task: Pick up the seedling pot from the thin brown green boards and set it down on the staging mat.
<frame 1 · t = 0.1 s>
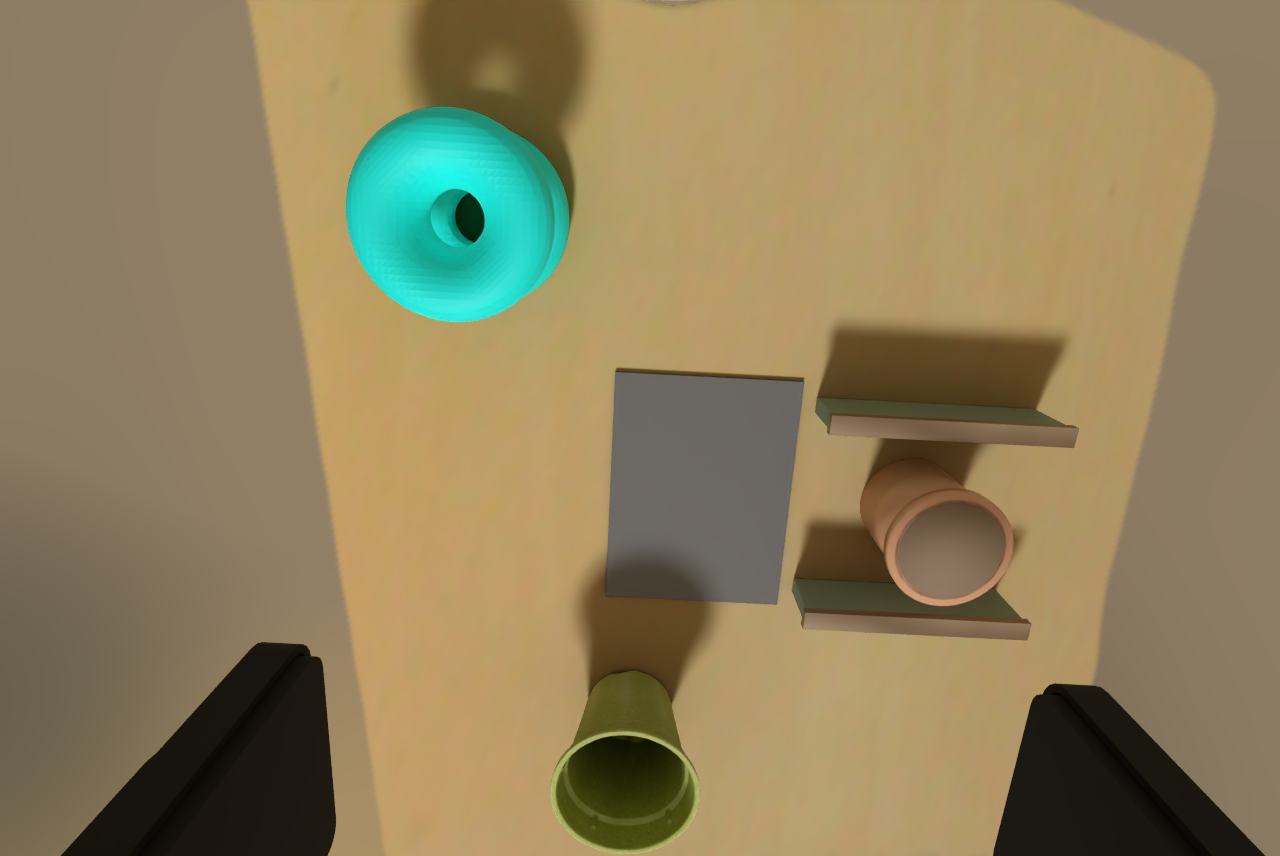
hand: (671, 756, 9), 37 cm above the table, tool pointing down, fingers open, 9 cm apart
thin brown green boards: (908, 503, 48), on the table
seedling pot: (907, 503, 48), on the table
plant pot: (628, 701, 53), on the table
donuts: (489, 217, 43), on the table
staging mat: (699, 493, 48), on the table
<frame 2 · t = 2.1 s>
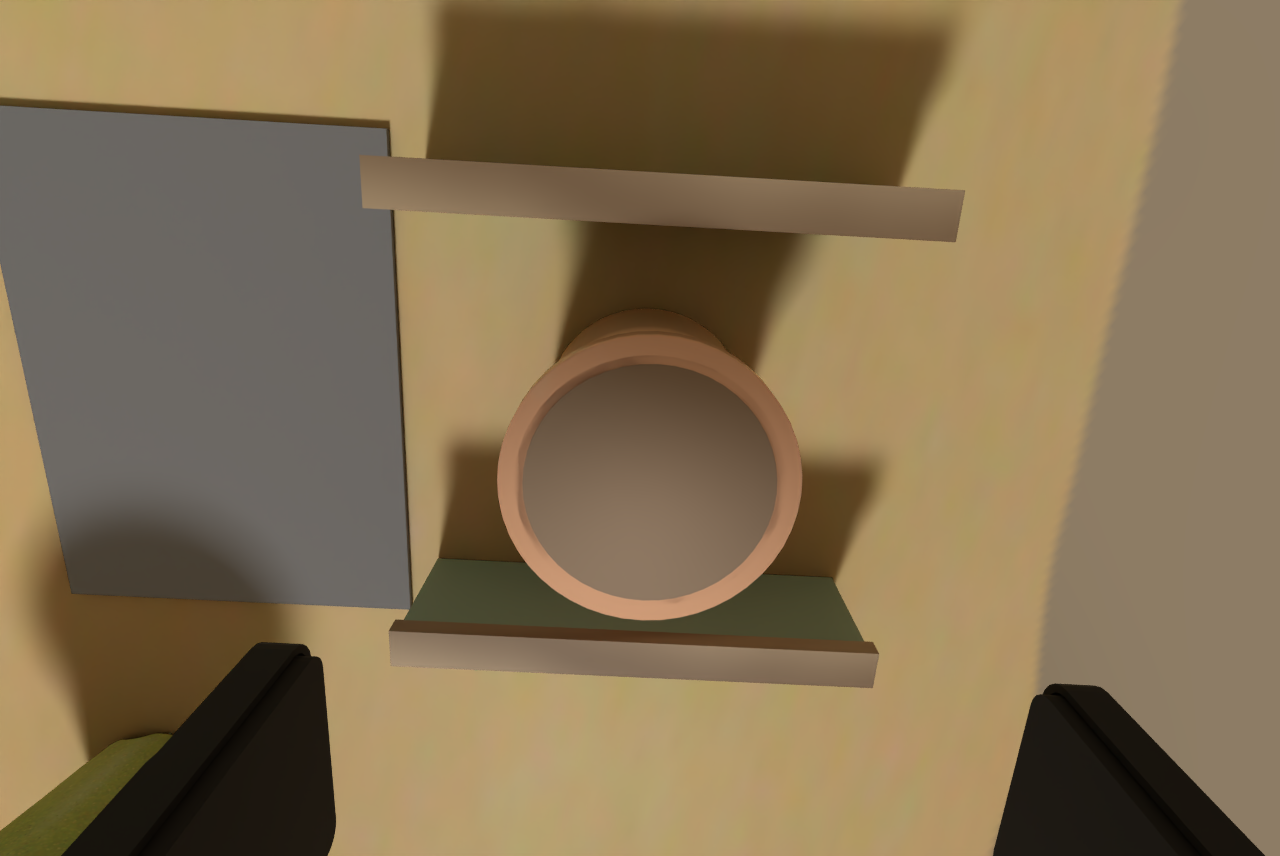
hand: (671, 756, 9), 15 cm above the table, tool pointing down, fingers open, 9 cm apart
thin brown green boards: (645, 405, 23), on the table
seedling pot: (645, 405, 23), on the table
plant pot: (173, 787, 29), on the table
staging mat: (216, 383, 23), on the table
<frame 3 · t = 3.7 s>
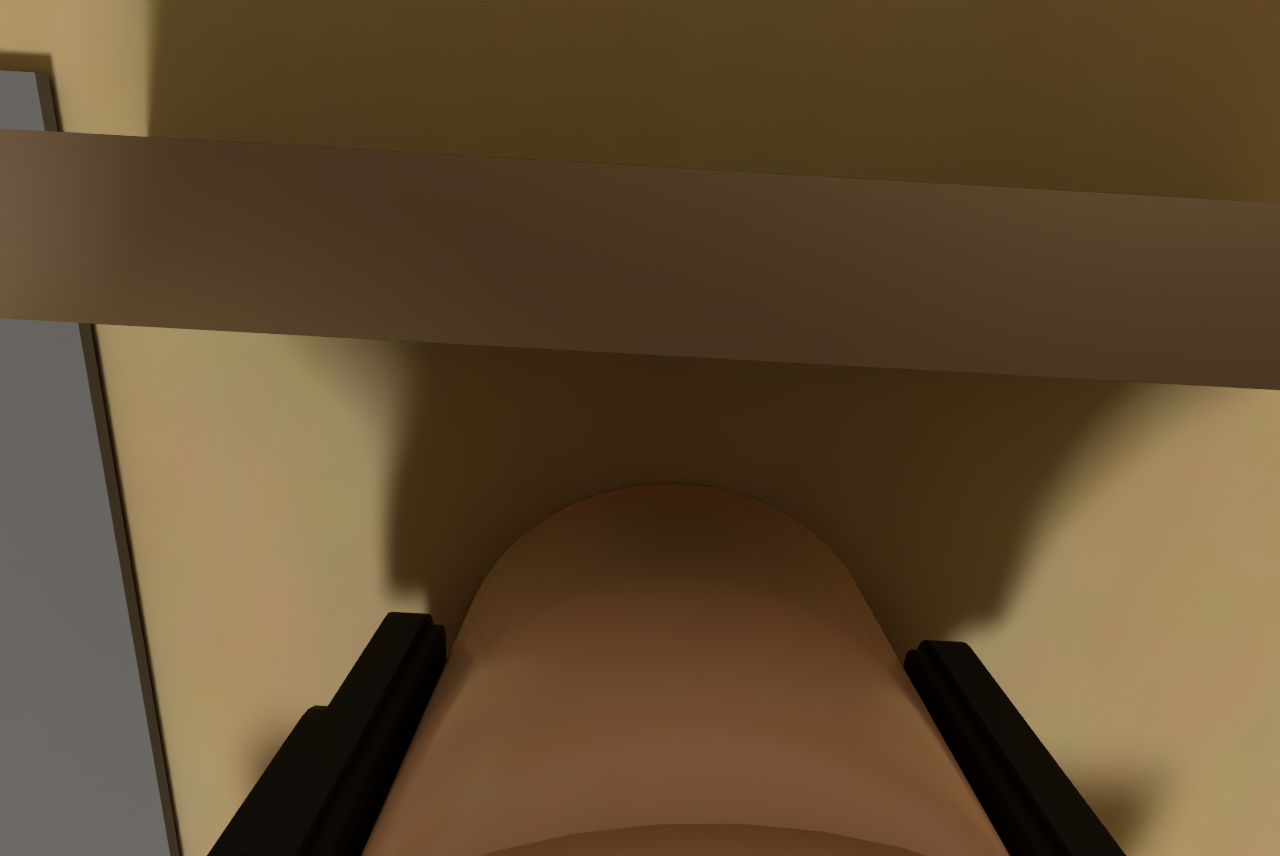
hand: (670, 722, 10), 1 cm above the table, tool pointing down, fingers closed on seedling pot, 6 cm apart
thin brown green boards: (668, 678, 11), on the table
seedling pot: (667, 677, 11), on the table, touching gripper
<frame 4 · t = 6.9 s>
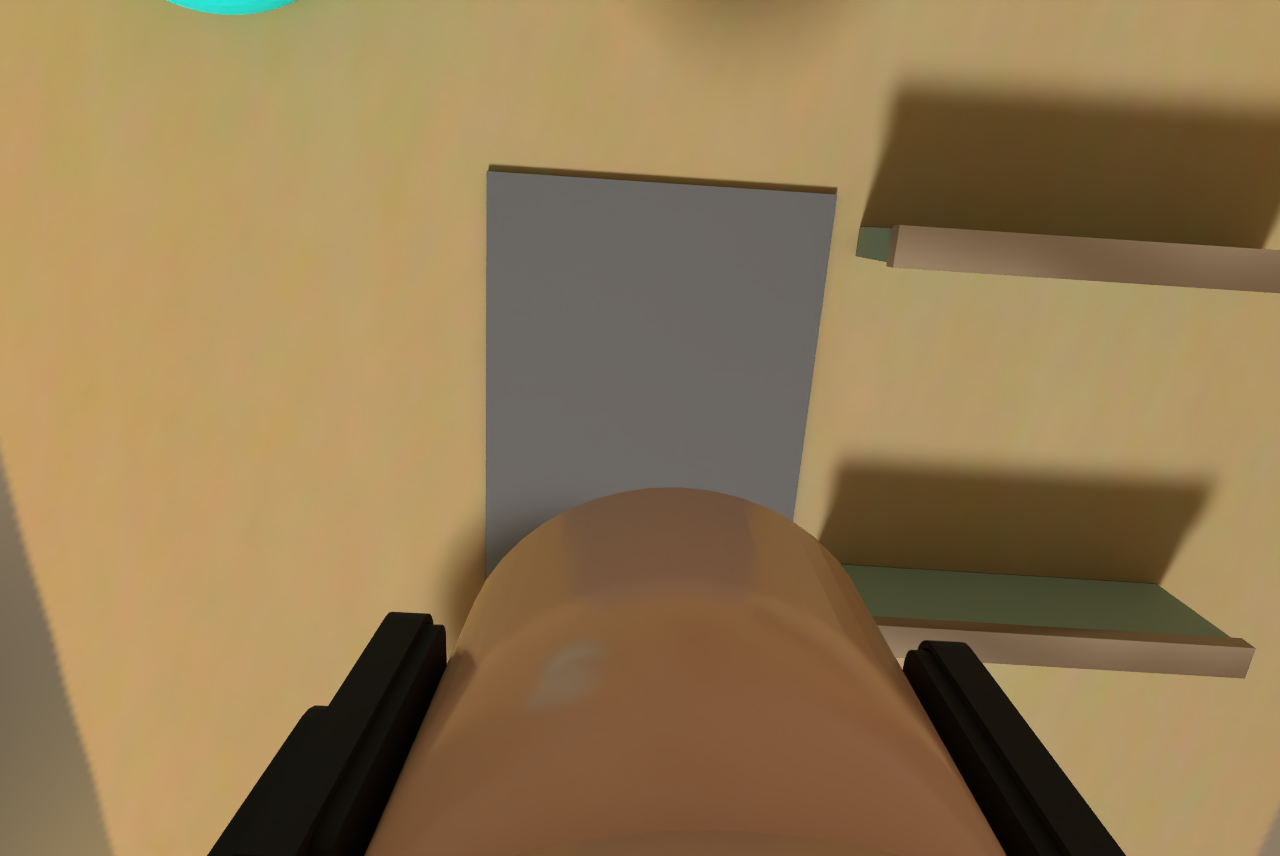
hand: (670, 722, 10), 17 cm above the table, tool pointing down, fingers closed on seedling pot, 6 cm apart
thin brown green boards: (1016, 430, 27), on the table
seedling pot: (667, 680, 11), point 16 cm above the table, touching gripper
staging mat: (646, 407, 27), on the table
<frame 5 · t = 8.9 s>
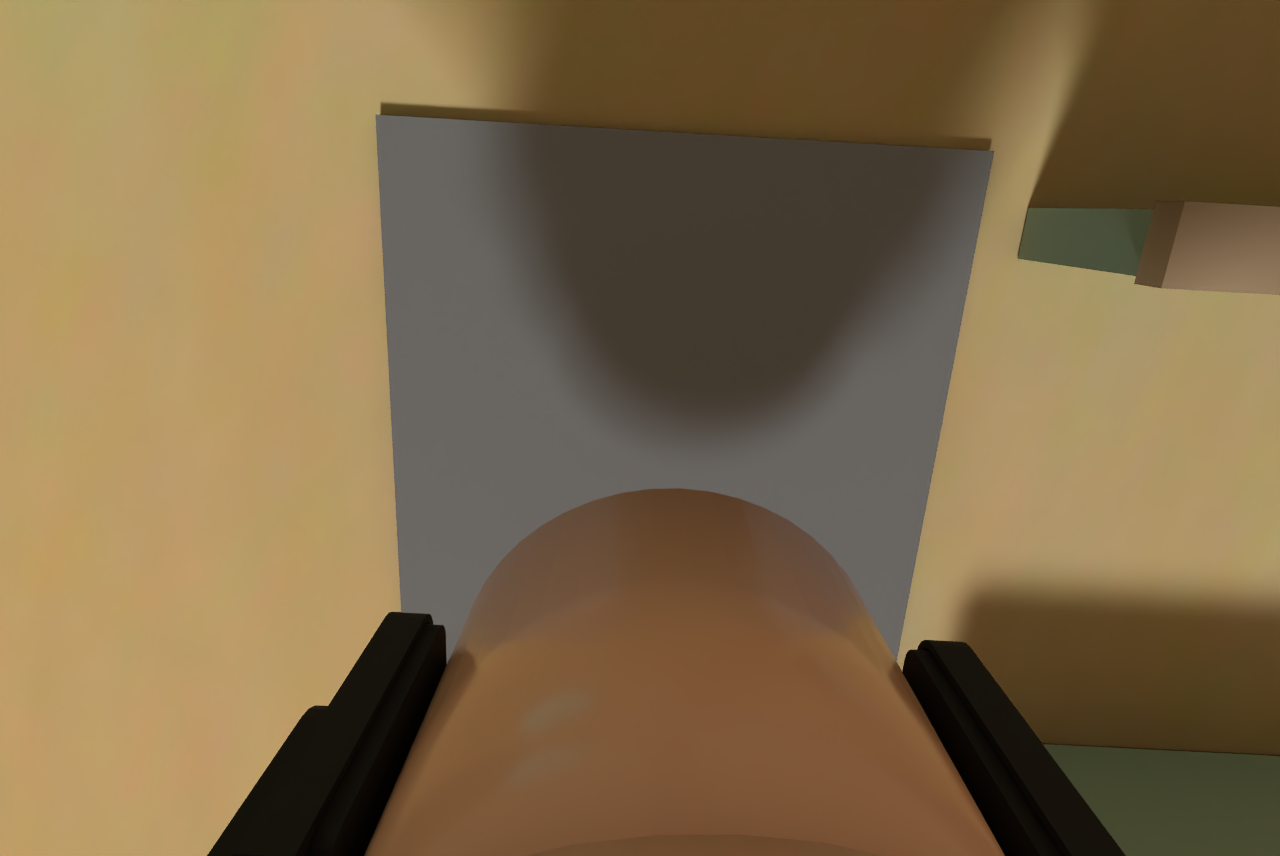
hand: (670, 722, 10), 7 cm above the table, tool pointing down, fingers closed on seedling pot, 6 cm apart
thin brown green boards: (1261, 540, 17), on the table
seedling pot: (667, 681, 11), point 6 cm above the table, touching gripper
staging mat: (659, 508, 16), on the table
when the fingers open (3 cm above the table, at t = 10.2 s): seedling pot drops 2 cm, resting on staging mat.
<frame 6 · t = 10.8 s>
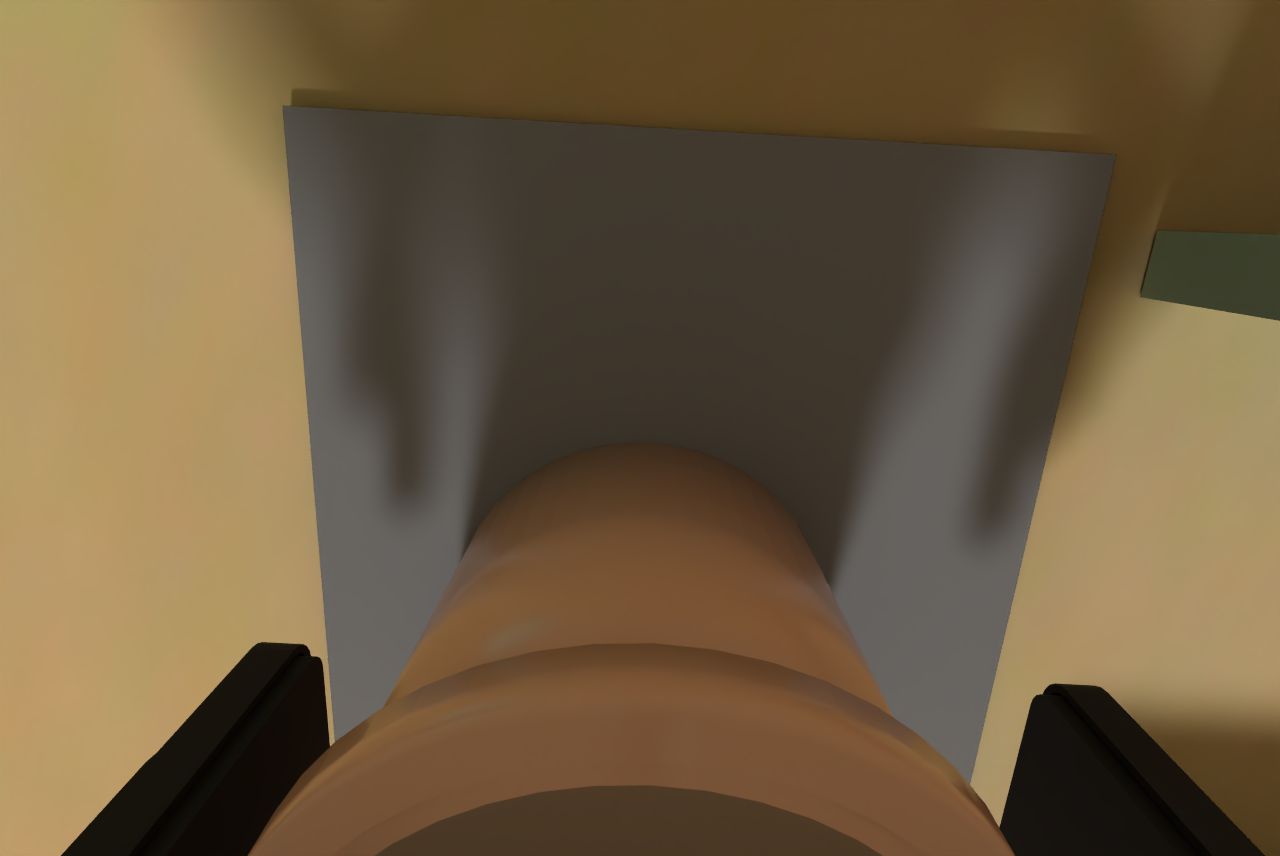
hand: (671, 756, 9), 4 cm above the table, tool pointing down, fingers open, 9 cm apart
seedling pot: (639, 615, 13), resting on staging mat
staging mat: (664, 613, 13), on the table
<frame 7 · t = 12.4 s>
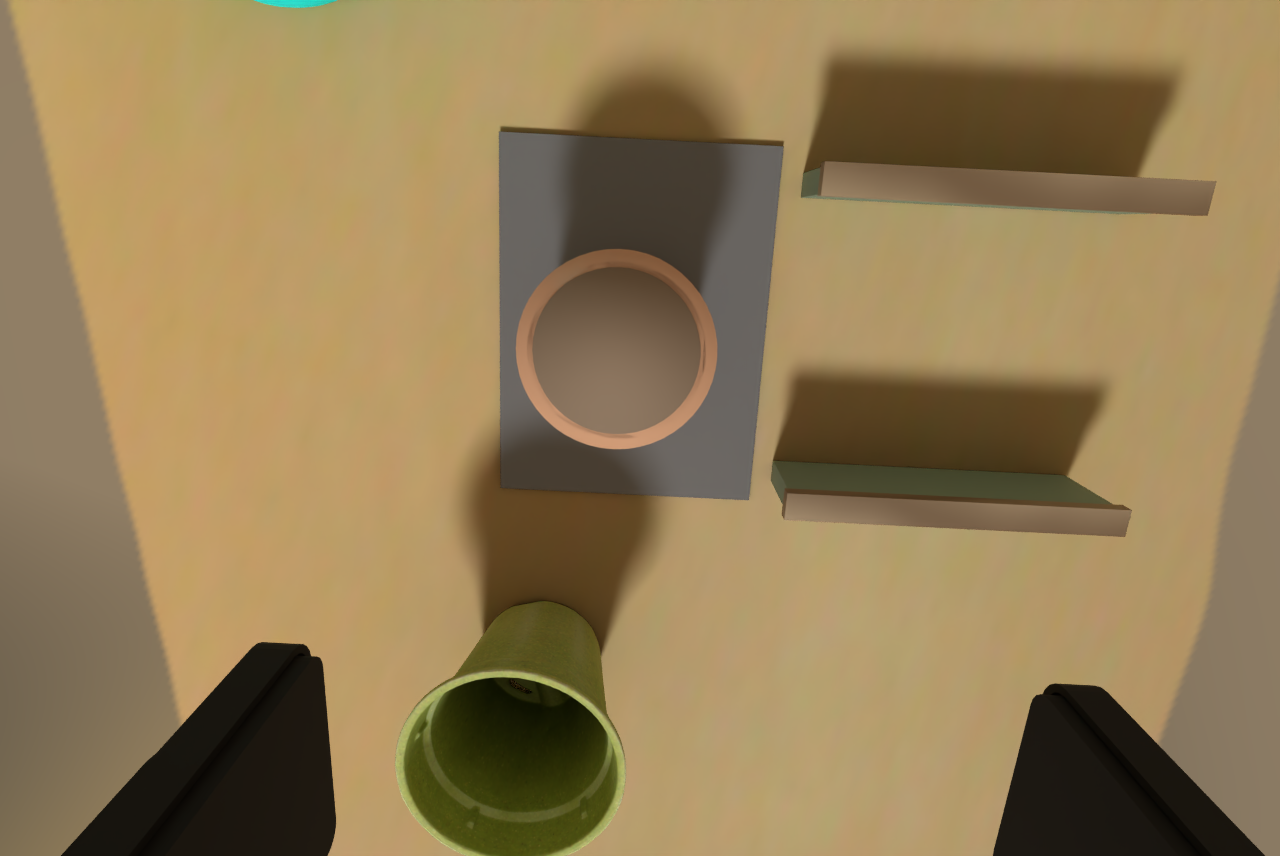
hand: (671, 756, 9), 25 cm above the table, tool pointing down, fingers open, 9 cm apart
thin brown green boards: (939, 343, 32), on the table
seedling pot: (622, 327, 32), resting on staging mat
plant pot: (541, 648, 37), on the table
staging mat: (632, 328, 32), on the table
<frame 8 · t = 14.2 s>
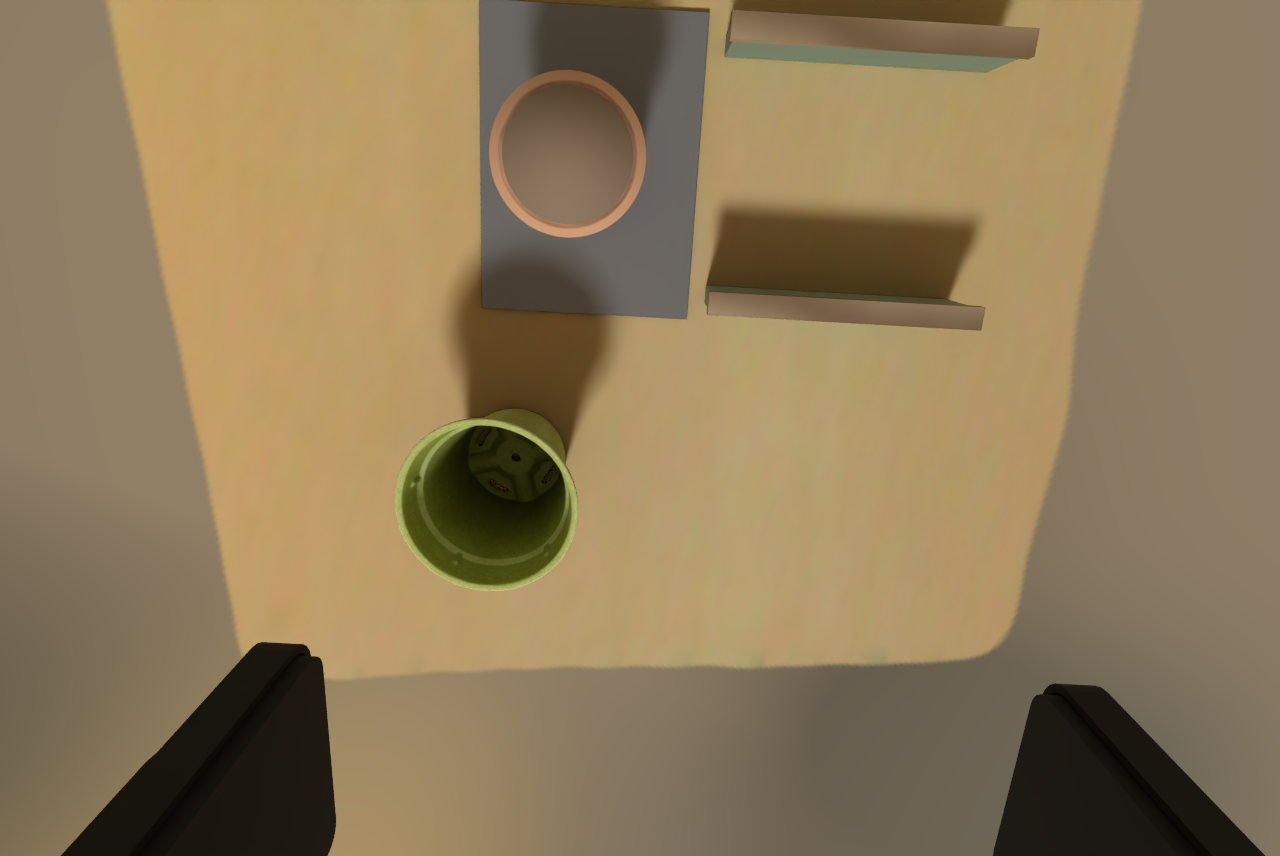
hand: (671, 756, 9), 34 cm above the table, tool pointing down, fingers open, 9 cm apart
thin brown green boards: (840, 183, 40), on the table
seedling pot: (580, 167, 39), resting on staging mat
plant pot: (516, 452, 45), on the table
staging mat: (589, 168, 40), on the table
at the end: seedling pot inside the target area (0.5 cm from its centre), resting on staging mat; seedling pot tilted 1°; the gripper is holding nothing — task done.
